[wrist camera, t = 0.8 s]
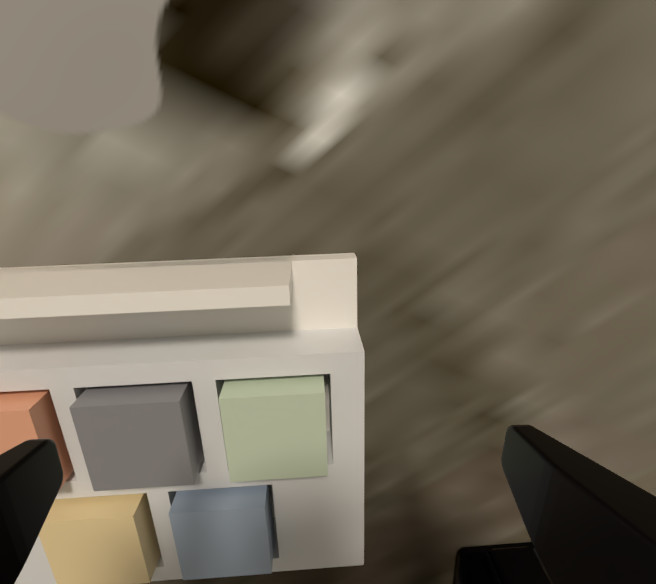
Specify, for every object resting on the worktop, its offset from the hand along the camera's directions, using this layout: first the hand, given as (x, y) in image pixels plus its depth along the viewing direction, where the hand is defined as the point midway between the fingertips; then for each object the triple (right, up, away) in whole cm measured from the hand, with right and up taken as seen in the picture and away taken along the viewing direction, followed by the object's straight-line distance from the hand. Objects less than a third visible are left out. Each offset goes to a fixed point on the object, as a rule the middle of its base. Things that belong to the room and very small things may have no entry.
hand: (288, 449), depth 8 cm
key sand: (-10, -9, +13) cm, 19 cm away
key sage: (-2, -3, +11) cm, 11 cm away
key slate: (-4, -8, +13) cm, 16 cm away
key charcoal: (-8, -3, +11) cm, 13 cm away
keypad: (-8, -3, +14) cm, 16 cm away
